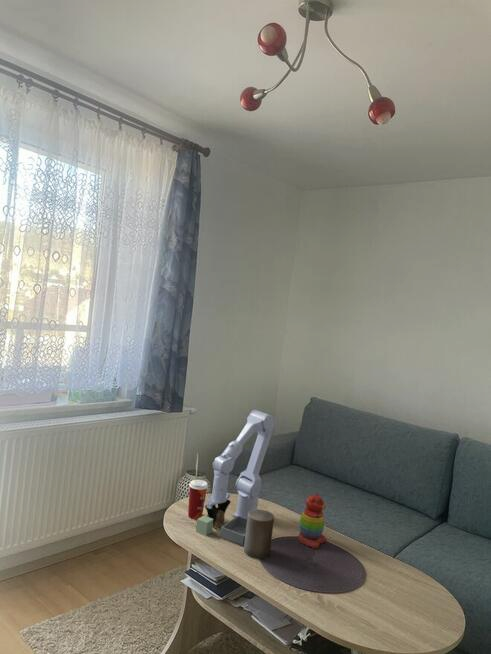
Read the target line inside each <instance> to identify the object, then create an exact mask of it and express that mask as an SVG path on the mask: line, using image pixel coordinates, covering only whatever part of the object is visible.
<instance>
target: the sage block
mask: <svg viewBox="0 0 491 654" xmlns="http://www.w3.org/2000/svg"><path fill="white" fill-rule="evenodd" d="M213 520H214V519H212V518H210V517H208V515H202V517H200V518H198V519H196V526H195V533H198V534H201V535H202V536H207V535H209V534H211V533H212V532H213V528H214V526H213Z"/></svg>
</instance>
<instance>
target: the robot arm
mask: <svg viewBox="0 0 491 654" xmlns="http://www.w3.org/2000/svg"><path fill="white" fill-rule="evenodd" d="M246 420H247V421H246V424H245V425H244V427H243V429H242V430H241V431H240V433H239V435H238V436H237V438H236V439H235V440H232V441H231V442H229V444H228V445H227V447H226V448H225V449H224V451H223V452H222V454H220V455H219V456H217V457H215V458H214V461H213V462H212V468H213V474H214V477H213V485H212V493H211V494H210V495H209V500H208V501H207V502H206V504H205V505H204V508H205V510H206V512H207V517H210V518H212V519H214V520H213V524H214V523H215V520H216V516H217V513H218V511H219V510H221V511H224V512H225V513H226V511H227V509H228V507H229V506H230V504H231V500H229V499H230V498H231V497H230V496H231V493H230V492H228V485H229V477H230V473H232V471H233V468H234V465H235V464H236V463H235V462H236V459H238V457H239V456H240V455H241V453H242V452H243V447H244V445H245V443H246V442H247V441H248V440H249V439H250V438H251V436H252V435H253V434H255V433H257V437H256V440H255V443H254V446H253V448H252V452H251V455H250V458H249V461H248V464H247V466H246V469H245V470H244V471H243V470H242V471H241V472H240V474H239V477H238V478H237V480H236V482H235V488H236V490H237V495H238V496H237V502H236V503H237V504H236V510H235V512H233V513H232V514H231V516H233V517H234V518H235V517H237V516H241V517H244V518H246V519H247V517H248V512H249V511H251V510H255V509H258V503H259V495H260V493H261V489H262V487H261V486H262V478H261V476H260V475H259V474H260V470H261V468H262V465H263V461H264V459H265V457H266V456H265V455H266V452H267V448H268V446H269V444H270V439H271V436H272V434H273V430H274V428H275V427H274V426H275V424H276V421H275V418H274V416H273V415H272V414H268V413H265V412H263V411H260V410H258V409H253V410H252V411H251V412H250V414H248V416H247V419H246Z"/></svg>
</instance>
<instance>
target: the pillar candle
mask: <svg viewBox="0 0 491 654" xmlns="http://www.w3.org/2000/svg"><path fill="white" fill-rule="evenodd" d="M274 521H275V515H274V513H272V512H270V511H268V510H266V509H265V510H264V509H258V508H257V509H255V510H251V511H249V512H248V517H247V526H246V535H245V543H244V546H243V552H244V553H245V555H246V556H248V557H250V558H254V559H266V558H268V557H269V556H271V548H272V547H271V546H272V538H273V530H274Z"/></svg>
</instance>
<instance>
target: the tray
mask: <svg viewBox="0 0 491 654" xmlns="http://www.w3.org/2000/svg"><path fill="white" fill-rule="evenodd" d="M246 526H247V519H246V518H244V517H241V516H237V517H235V516H234V518H233V519H231V520H229V521H227V523H225V524H223V525H221V526H220V531H219V538H220V539H222V540H224V541H227V542H230V543H233V544H235V545H237V546H240V547H243V548H244V543H245V535H246Z"/></svg>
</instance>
